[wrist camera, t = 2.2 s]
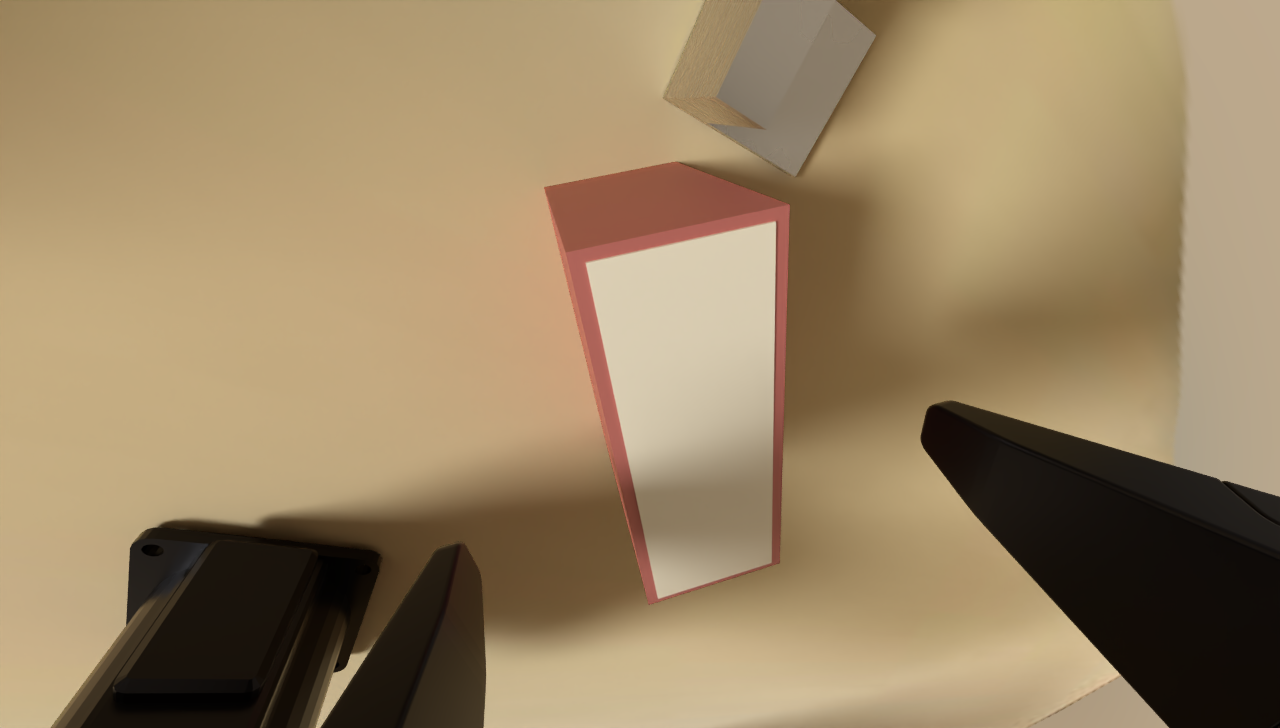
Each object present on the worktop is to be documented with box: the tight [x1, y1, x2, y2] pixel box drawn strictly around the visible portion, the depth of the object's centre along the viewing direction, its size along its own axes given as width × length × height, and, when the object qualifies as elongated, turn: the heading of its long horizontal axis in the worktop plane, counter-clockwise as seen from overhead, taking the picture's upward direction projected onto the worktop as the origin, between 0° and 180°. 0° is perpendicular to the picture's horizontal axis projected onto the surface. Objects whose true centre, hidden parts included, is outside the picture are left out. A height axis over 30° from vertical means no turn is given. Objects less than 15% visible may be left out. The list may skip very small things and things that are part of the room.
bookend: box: [663, 0, 876, 177], centre depth 10 cm, size 4×4×4 cm
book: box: [544, 162, 790, 605], centre depth 12 cm, size 9×4×6 cm, turn 8°
